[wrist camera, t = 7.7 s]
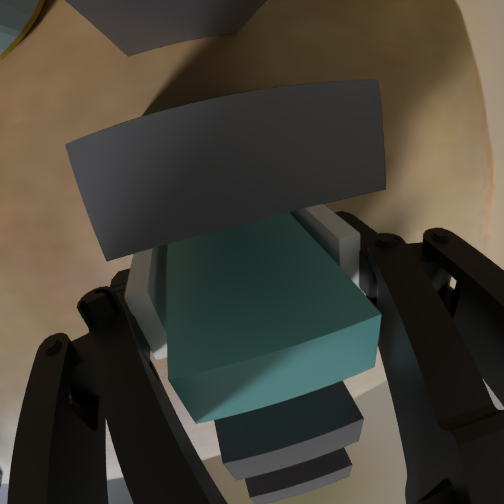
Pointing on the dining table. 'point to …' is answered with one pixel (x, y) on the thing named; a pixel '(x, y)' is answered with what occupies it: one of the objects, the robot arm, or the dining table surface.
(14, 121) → the dining table surface
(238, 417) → the domino
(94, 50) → the dining table surface
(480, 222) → the dining table surface
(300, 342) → the domino
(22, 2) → the bottle
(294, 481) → the domino
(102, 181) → the domino
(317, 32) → the dining table surface
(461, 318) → the robot arm
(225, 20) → the domino
